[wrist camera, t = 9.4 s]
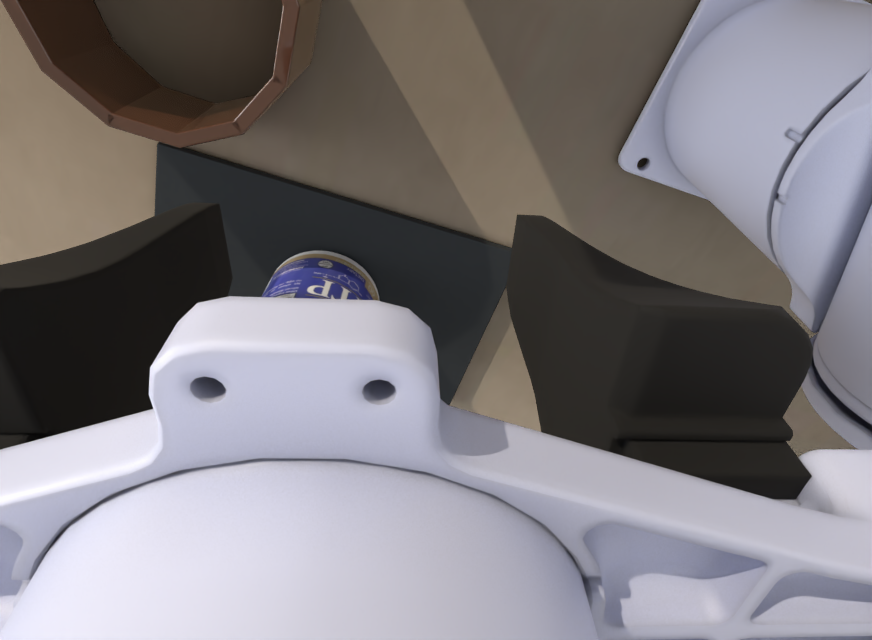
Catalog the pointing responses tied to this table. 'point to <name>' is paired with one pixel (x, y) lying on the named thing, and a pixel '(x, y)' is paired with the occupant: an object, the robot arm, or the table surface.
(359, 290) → the pill bottle
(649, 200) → the table surface
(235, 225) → the mat
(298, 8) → the brown bowl
